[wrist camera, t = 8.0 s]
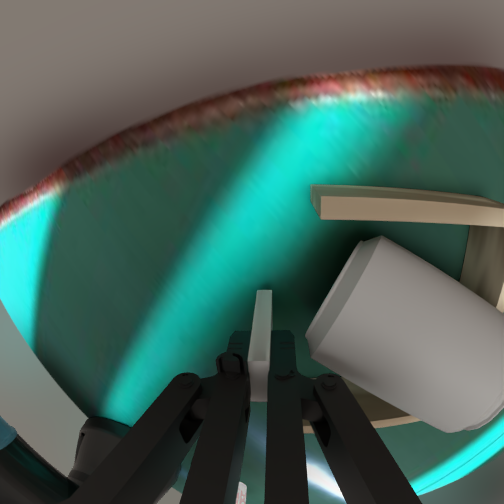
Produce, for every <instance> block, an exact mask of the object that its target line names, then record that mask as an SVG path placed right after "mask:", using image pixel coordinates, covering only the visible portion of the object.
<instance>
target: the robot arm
mask: <svg viewBox="0 0 504 504" xmlns="http://www.w3.org/2000/svg"><path fill="white" fill-rule="evenodd" d="M272 327H273V324H272V290H257V295H256V303H255V310H254V318H253V325H252V331H235V332H234V333H233V334H232V335H231V336H230V339H229V344H228V349H227V352H225V353H222V354H221V355H219V356H218V357H217V359H216V365H217V370H218V374H216V375H214V376H212V377H208V378H202V379H200V378H199V377H198V375H196V374H194V373H188V372H187V373H181V374H179V375H177V376H176V377H175V378H173V380H172V381H171V382H170V383H169V384H168V386H167V387H166V388H165V389H164V390H163V392H162V393H161V394H160V395H159V396H158V397H157V399H156V400H155V401H154V402H153V403H152V405H151V406H150V407H149V408H148V409H147V410H146V412H145V413H144V414H143V415H142V416H141V417H140V419H139V420H138V421H137V422H136V423H135V424H134V426H133V427H132V428H130V427H127V426H125V425H123V424H120V423H118V422H115V421H112V420H109V419H105V418H99V417H92V418H89V419H87V421H86V422H85V424H84V425H83V427H82V428H81V430H80V433H79V439H78V444H77V449H76V455H75V463H74V466H73V468H72V470H71V472H70V473H69V475H68V477H65V476H64V475H63V474H62V473H61V472H59V471H58V470H57V469H56V468H54V467H53V466H52V465H51V464H49V463H48V462H47V461H46V460H45V459H44V458H43V457H41V456H40V455H39V454H38V453H37V452H36V451H35V450H33V448H31V447H30V446H29V445H28V444H27V443H26V442H25V441H24V440H23V439H22V438H21V437H20V436H19V435H18V434H17V431H16V430H15V428H13V427H12V426H10V425H8V423H6V421H5V420H4V419H3V418H2V417H1V416H0V504H157V503H158V501H159V500H160V499H161V498H162V497H163V496H164V495H165V493H167V492H168V490H169V489H170V488H171V487H172V486H173V485H174V484H175V482H176V481H177V478H178V475H179V473H180V470H181V466H180V464H181V462H182V461H183V459H184V458H185V456H186V455H187V453H188V452H189V450H190V448H191V447H192V445H193V444H194V442H195V441H196V439H197V438H198V436H199V435H200V436H199V439H198V443H197V446H196V449H195V453H194V456H193V460H192V463H191V466H190V470H189V473H188V476H187V480H186V483H185V487H184V490H183V493H182V497H181V500H180V504H236V498H237V492H238V486H239V480H240V474H241V468H242V462H243V456H244V449H245V443H246V437H247V430H248V424H249V417H250V398H251V401H254V402H267V437H266V473H265V501H264V504H309V497H308V481H307V468H306V455H305V442H304V431H303V420H302V419H304V420H308V421H309V422H310V425H311V427H312V429H313V431H314V434H315V436H316V438H317V440H318V442H319V445H320V447H321V449H322V451H323V453H324V456H325V458H326V460H327V462H328V464H329V466H330V469H331V471H332V473H333V475H334V477H335V479H336V482H337V484H338V486H339V488H340V490H341V492H342V494H343V497H344V499H345V501H346V503H347V504H422V503H421V501H420V500H419V498H418V496H417V495H416V493H415V492H414V490H413V488H412V487H411V485H410V484H409V482H408V480H407V479H406V477H405V476H404V474H403V472H402V471H401V469H400V468H399V466H398V465H397V463H396V461H395V460H394V458H393V457H392V455H391V454H390V452H389V450H388V449H387V447H386V446H385V444H384V443H383V441H382V439H381V438H380V436H379V435H378V433H377V432H376V430H375V428H374V427H373V425H372V424H371V422H370V421H369V419H368V418H367V416H366V414H365V413H364V411H363V410H362V408H361V407H360V405H359V404H358V402H357V400H356V399H355V397H354V396H353V394H352V393H351V391H350V390H349V388H348V386H347V385H346V383H345V382H344V380H343V379H342V378H341V377H340V376H338V375H335V374H330V373H329V374H323V375H321V376H319V377H317V378H316V379H311V378H307V377H305V376H303V375H301V374H300V373H299V372H298V370H297V368H296V356H295V344H294V335H293V334H292V333H291V331H290V330H275V331H272Z"/></svg>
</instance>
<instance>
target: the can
mask: <svg viewBox="0 0 504 504" xmlns="http://www.w3.org/2000/svg"><path fill="white" fill-rule="evenodd" d="M305 337H306V338H307V340H308V345H309V351H310V357H311V358H312V359H314V360H316V361H317V362H319V363H321V364H322V365H324V366H325V367H327V368H329V369H330V370H332V371H334V372H335V373H337V374H339V375H340V376H342V377H344V378H345V379H347V380H349V381H351V382H352V383H354V384H356V385H358V386H359V387H361V388H363V389H364V390H366V391H368V392H370V393H372V394H373V395H375V396H377V397H379V398H380V399H382V400H384V401H386V402H388V403H390V404H391V405H393V406H395V407H397V408H399V409H401V410H403V411H404V412H406V413H408V414H410V415H412V416H414V417H416V418H418V419H420V420H422V421H424V422H426V423H428V424H430V425H432V426H434V427H436V428H438V429H440V430H442V431H444V432H446V433H451V432H457V431H461V430H463V429H465V430H473V429H477V428H480V427H481V426H483V425H485V424H486V423H488V422H489V421H491V420H492V419H493V418H494V417H495V416H496V415H497V414H498V413H499V412H500V411H501V410H502V409H503V408H504V314H503V313H502V312H501V311H499V310H498V309H497V308H495V307H494V306H492V305H491V304H490V303H488V302H487V301H485V300H484V299H483V298H481V297H480V296H478V295H477V294H475V293H474V292H473V291H471V290H470V289H468V288H467V287H465V286H464V285H462V284H461V283H459V282H458V281H456V280H455V279H453V278H452V277H450V276H449V275H447V274H445V273H444V272H442V271H441V270H439V269H438V268H436V267H434V266H433V265H431V264H430V263H428V262H426V261H425V260H423V259H422V258H420V257H418V256H417V255H415V254H413V253H412V252H410V251H408V250H407V249H405V248H403V247H402V246H400V245H398V244H396V243H395V242H393V241H391V240H389V239H388V238H386V237H384V236H382V235H381V236H378V237H376V238H373V239H370V240H367V241H360V242H359V243H358V244H357V246H356V248H355V249H354V251H353V252H352V254H351V256H350V257H349V259H348V261H347V262H346V264H345V266H344V267H343V269H342V271H341V273H340V274H339V276H338V278H337V279H336V281H335V283H334V284H333V286H332V288H331V290H330V291H329V293H328V295H327V296H326V298H325V300H324V302H323V303H322V305H321V307H320V309H319V310H318V312H317V314H316V315H315V317H314V319H313V321H312V323H311V324H310V326H309V328H308V330H307V332H306V334H305Z"/></svg>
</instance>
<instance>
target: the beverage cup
mask: <svg viewBox="0 0 504 504" xmlns="http://www.w3.org/2000/svg"><path fill="white" fill-rule="evenodd" d="M246 489H247V486H246V485H245V484H243V483H242V482H239V486H238V492H237V498H236V504H245V501H246Z"/></svg>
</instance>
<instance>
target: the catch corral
mask: <svg viewBox="0 0 504 504" xmlns="http://www.w3.org/2000/svg"><path fill="white" fill-rule="evenodd" d="M311 203H312V205H313V206H314V208H315V210H316V212H317V214H318V216H319V217H320V219H322V220H375V221H405V222H429V223H449V224H466V225H470V228H469V235H468V242H467V247H466V253H465V258H464V263H463V268H462V273H461V277H460V281H459V283H461V284H462V285H464V286H465V287H467V288H468V289H470V290H471V291H473V292H474V293H475V294H477V295H478V296H480V297H481V298H483V299H484V300H485V301H487V302H488V303H490V304H491V305H492V306H494V307H495V308H497V309H498V310H499V311H501V312H502V313H503V312H504V204H503V203H500V202H497V201H494V200H491V199H488V198H485V197H481V196H474V195H466V194H458V193H449V192H439V191H429V190H418V189H405V188H391V187H374V186H352V185H312V184H311ZM341 378H342V379H343V380H344V382H345V383H346V385H347V386H348V388H349V390H350V391H351V393H352V394H353V396H354V397H355V399H356V400H357V402H358V404H359V405H360V407H361V408H362V410H363V411H364V413H365V414H366V416H367V418H368V419H369V421H370V422H371V424H372V425H373V427H374V428H381V427H387V426H394V425H400V424H405V423H411V422H416V421H420V419H418V418H416V417H414V416H412V415H410V414H408V413H406V412H404V411H403V410H401V409H399V408H397V407H395V406H393V405H391V404H390V403H388V402H386V401H384V400H382V399H380V398H379V397H377V396H375V395H373V394H372V393H370V392H368V391H366V390H364V389H363V388H361V387H359V386H358V385H356V384H354V383H352V382H351V381H349V380H347V379H345V378H344V377H341ZM311 379H316V378H311ZM302 420H303V431H304V433H314V431H313V429H312V427H311V425H310V422H309V421H308V420H304V419H302Z"/></svg>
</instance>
